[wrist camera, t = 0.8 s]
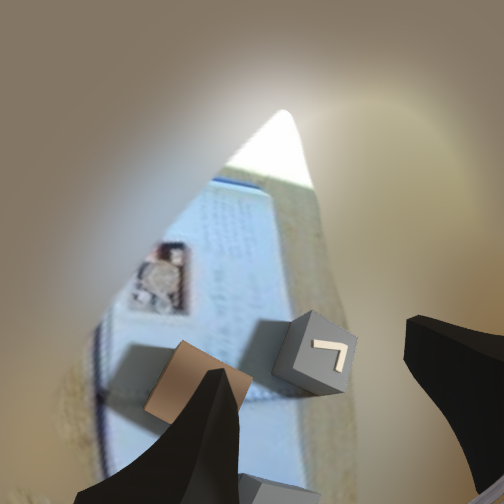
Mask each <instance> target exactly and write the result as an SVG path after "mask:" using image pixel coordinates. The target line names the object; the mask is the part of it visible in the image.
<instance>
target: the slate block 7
mask: <svg viewBox="0 0 504 504" xmlns="http://www.w3.org/2000/svg"><path fill="white" fill-rule="evenodd" d="M357 339H358V338H357V337H356V336H355V335H353V334H351V333H350V332H348V331H346V330H345V329H343V328H341V327H340V326H338V325H336V324H335V323H333V322H332V321H330V320H328V319H327V318H325V317H323V316H322V315H320V314H318V313H317V312H315V311H314V310H311V311H309V312H308V313H306V314H304V315H302V316H301V317H299V318H297V319H295V320H294V321H292V322H291V324H290V326H289V329H288V332H287V334H286V337H285V340H284V342H283V345H282V347H281V350H280V353H279V355H278V358H277V360H276V363H275V365H274V368H273V370H272V373H271V374H273V375H275V376H277V377H279V378H281V379H283V380H285V381H287V382H289V383H291V384H294V385H296V386H298V387H300V388H302V389H305V390H307V391H309V392H311V393H313V394H316V395H318V396H325V395H332V394H339V393H345V389H346V385H347V382H348V378H349V374H350V370H351V366H352V362H353V357H354V353H355V348H356V344H357Z"/></svg>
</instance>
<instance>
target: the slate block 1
mask: <svg viewBox="0 0 504 504" xmlns="http://www.w3.org/2000/svg"><path fill="white" fill-rule="evenodd" d="M238 492H239V502H240V504H317V503H318V501H319V498H320V496H321V494H319V493H316V492H313V491H310V490H307V489H304V488H301V487H298V486H293V485H288V484H284V483H279V482H275V481H271V480H267V479H263V478H259V477H255V476H252V475H248V474H245V473H243V474H242V476H241V478H240V480H239V482H238Z"/></svg>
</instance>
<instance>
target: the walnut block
mask: <svg viewBox="0 0 504 504" xmlns="http://www.w3.org/2000/svg"><path fill="white" fill-rule="evenodd" d="M219 368H224V369H225V371H226V374H227V377H228V380H229V383H230V386H231V389H232V392H233V394H234V397H235V400H236V403H237V405H238V412H239V410H240V407H241V405H242V403H243V400H244V398H245V396H246V394H247V391H248V389H249V387H250V384H251V382H252V380H253V377H251V376H249V375H247V374H245V373H243V372H241V371H239V370H237V369H235V368H233V367H231V366H229V365H227V364H225V363H223V362H221V361H220V360H218V359H216V358H214V357H212V356H210V355H208V354H207V353H205V352H203V351H201V350H200V349H198V348H196V347H194V346H192V345H191V344H189V343H187V342H186V341H184V340H182V341H181V342H180V344H179V345H178V346H177V347H176V348H175V350H174V352H173V354H172V355H171V357H170V359H169V361H168V363H167V364H166V366H165V368H164V370H163V372H162V373H161V375H160V377H159V379H158V381H157V382H156V384H155V386H154V388H153V390H152V392H151V393H150V395H149V397H148V399H147V401H146V403H145V405H144V406H143V409H144V410H145V411H147V412H149V413H150V414H152V415H154V416H156V417H158V418H160V419H162V420H164V421H166V422H167V423H169V424H172V423H173V422H174V420H175V419H176V418H177V417H178V415H179V414H180V413H181V411H182V410H183V409H184V407H185V406H186V404H187V403H188V401H189V400H190V398H191V397H192V395H193V394H194V392H195V390H196V389H197V387H198V385H199V384H200V382H201V380H202V379H203V377H204V376H205V374H206V372H207V371H208V370H213V369H219Z"/></svg>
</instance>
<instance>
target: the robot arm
mask: <svg viewBox="0 0 504 504" xmlns="http://www.w3.org/2000/svg"><path fill="white" fill-rule="evenodd" d="M403 360H404V361H405V363H406V365H407V366H408V368H409V370H410V372H411V373H412V375H413V377H414V378H415V379H416V381H417V382H418V383H419V384H420V386H421V387H422V388H423V389H424V391H425V392H426V393H427V394H428V396H429V397H430V398H431V399H432V400H433V401H434V403H435V404H436V405H437V407H438V408H439V409H440V410H441V412H442V413H443V415H444V416H445V417H446V419H447V420H448V422H449V424H450V426H451V427H452V429H453V431H454V433H455V435H456V437H457V439H458V441H459V443H460V445H461V447H462V449H463V451H464V454H465V456H466V459H467V461H468V464H469V467H470V470H471V473H472V476H473V480H474V483H475V487H476V491H477V492H478V494H479V496H477V497H476V498H475V499H473V500H472V501H471V502H469V503H468V504H493V503H494V502H495V501H496V500H497V499H499V498H500V497H501V496H502V495H503V494H504V336H501V335H493V334H488V333H483V332H479V331H474V330H471V329H467V328H463V327H460V326H456V325H453V324H450V323H446V322H443V321H440V320H437V319H433V318H429V317H426V316H421V315H417V316H415V317H412V318H409V319H407V321H406V338H405V349H404V359H403ZM239 431H240V426H239V415H238V405H237V403H236V400H235V397H234V394H233V392H232V389H231V386H230V383H229V380H228V377H227V374H226V371H225V369H224V368H219V369H213V370H208V371H207V372H206V374H205V376H204V377H203V379H202V380H201V382H200V384H199V385H198V387H197V389H196V390H195V392H194V394H193V395H192V397H191V398H190V400H189V401H188V403H187V404H186V406H185V407H184V409H183V410H182V411H181V413H180V414H179V415H178V417H177V418H176V419H175V420H174V422H173V423H172V424H171V426H170V427H169V428H168V429H167V430H166V431H165V433H164V434H163V435H162V436H161V437H160V438H159V439H158V440H157V441H156V442H155V443H154V444H153V445H152V446H151V447H150V448H149V449H148V450H146V451H145V452H144V453H143V454H142V455H140V456H139V457H138V458H137V459H136V460H134V461H133V462H132V463H131V464H129V465H128V466H126V467H125V468H123V469H122V470H120V471H119V472H117V473H116V474H114V475H112V476H111V477H109V478H107V479H106V480H104V481H102V482H100V483H98V484H96V485H94V486H92V487H89V488H87V489H85V490H83V491H80V492H78V493H77V496H76V498H75V501H74V503H73V504H240V502H239V492H238V456H239ZM501 504H504V501H503V502H502V503H501Z"/></svg>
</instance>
